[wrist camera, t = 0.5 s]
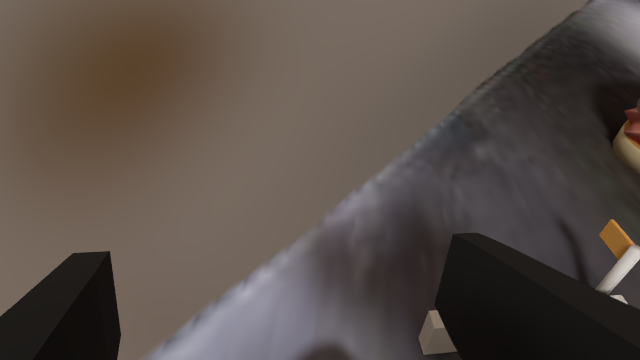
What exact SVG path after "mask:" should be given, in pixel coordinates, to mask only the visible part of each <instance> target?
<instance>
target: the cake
mask: <svg viewBox="0 0 640 360" xmlns="http://www.w3.org/2000/svg"><path fill="white" fill-rule="evenodd" d="M624 112H625V113H626V115H627V118H628V120H627V121H626V123H625V124H624V125H623V126H622V128H621V129H620V131H619V132H618V134H617V136H616V137H615V139H614V140H613V148H612V149H613V151H614V153H615V154H616V156H617V158H618V159H619V160H620V161H621V162H622V163H623V164H624V165H625V166H626V167H628V168H629V169H631V170H633V171H634V172H636V173H637V174H639V175H640V99H639V100H638V102H637V108H634V109H630V110H627V111H624Z"/></svg>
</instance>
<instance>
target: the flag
mask: <svg viewBox="0 0 640 360" xmlns="http://www.w3.org/2000/svg"><path fill="white" fill-rule="evenodd" d="M600 237H601V238H602V239H603V240H604V242H605V243H606V244H607V246H608V247H609V248H610V249H611V251H612V252H613V253H614V254H615V256H616V257H617V258H618V260H619V261H618V262H617V263H616V264H615V266H614V267H613V268H612V269H611V270H610V272H609V273H608V274H607V275H606V276H605V278H604V279H603V280H602V281H601V282H600V284H599V285H598V286H597V287H596V290H598V291H600V292H602V293H604V294H607V295H608V294H609V293H610V292H611V291H612V290H613V289H614V287H615V286H616V285H617V284H618V283H619V282H620V281H621V279H622V278H623V277H624V276H625V275H626V274H627V273H628V272H629V270H630V269H631V268H632V267H633V266H634V265H635V264H636V262H637V261H638V260H639V259H640V246H637V245H635V244H634V243H633V242H632V241H631V239H630V238H629V237H628V236H627V235H626V233H625V232H624V231H623V230H622V229H621V228H620V226H619V225H618V224H617V223H616V222H615V221H614V220H610V221H609V222H608V224H607V225H606V227H605V228H604V229H603V231H602V232H601V233H600Z"/></svg>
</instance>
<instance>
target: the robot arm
mask: <svg viewBox="0 0 640 360" xmlns="http://www.w3.org/2000/svg"><path fill="white" fill-rule="evenodd" d="M435 307H436V309H437V311H438V313H439V316H440V318H441V320H442V322H443V325H444V327H445V329H446V331H447V333H448V335H449V337H450V339H451V341H452V343H453V345H454V346H455V348H456V350H457V351H458V353H459V355H460V356H461V358H462V359H463V360H640V310H639V309H637V308H635V307H633V306H631V305H628V304H626V303H624V302H622V301H620V300H618V299H615V298H613V297H611V296H609V295H607V294H604V293H602V292H600V291H598V290H596V289H594V288H592V287H590V286H588V285H586V284H583V283H581V282H579V281H577V280H575V279H573V278H571V277H569V276H567V275H565V274H563V273H561V272H559V271H557V270H555V269H553V268H551V267H549V266H547V265H545V264H543V263H541V262H539V261H537V260H535V259H533V258H531V257H529V256H527V255H525V254H523V253H521V252H519V251H517V250H515V249H513V248H511V247H509V246H506V245H504V244H502V243H500V242H498V241H496V240H493V239H491V238H489V237H486V236H484V235H481V234H478V233H463V234H453V237H452V240H451V244H450V248H449V252H448V255H447V259H446V263H445V267H444V270H443V274H442V278H441V282H440V285H439V289H438V293H437V297H436V300H435ZM120 338H121V332H120V324H119V316H118V309H117V302H116V294H115V286H114V280H113V271H112V264H111V257H110V251H106V252H88V253H73V254H72V255H71V256H69V257H68V258H67V259H66V260H65V261H64V262H62V263H61V264H60V265H59V266H58V267H57V268H56V269H55V270H53V271H52V272H51V273H50V274H49V275H48V276H46V277H45V278H44V279H43V280H42V281H41V282H40V283H39V284H37V285H36V286H35V287H34V288H33V289H32V290H31V291H29V292H28V293H27V294H26V295H25V296H24V297H23V298H21V299H20V300H19V301H18V302H17V303H16V304H15V305H13V306H12V307H11V308H10V309H9V310H7V311H6V312H5V313H4V314H3V315H2V316H0V360H117V356H118V350H119V343H120Z"/></svg>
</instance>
